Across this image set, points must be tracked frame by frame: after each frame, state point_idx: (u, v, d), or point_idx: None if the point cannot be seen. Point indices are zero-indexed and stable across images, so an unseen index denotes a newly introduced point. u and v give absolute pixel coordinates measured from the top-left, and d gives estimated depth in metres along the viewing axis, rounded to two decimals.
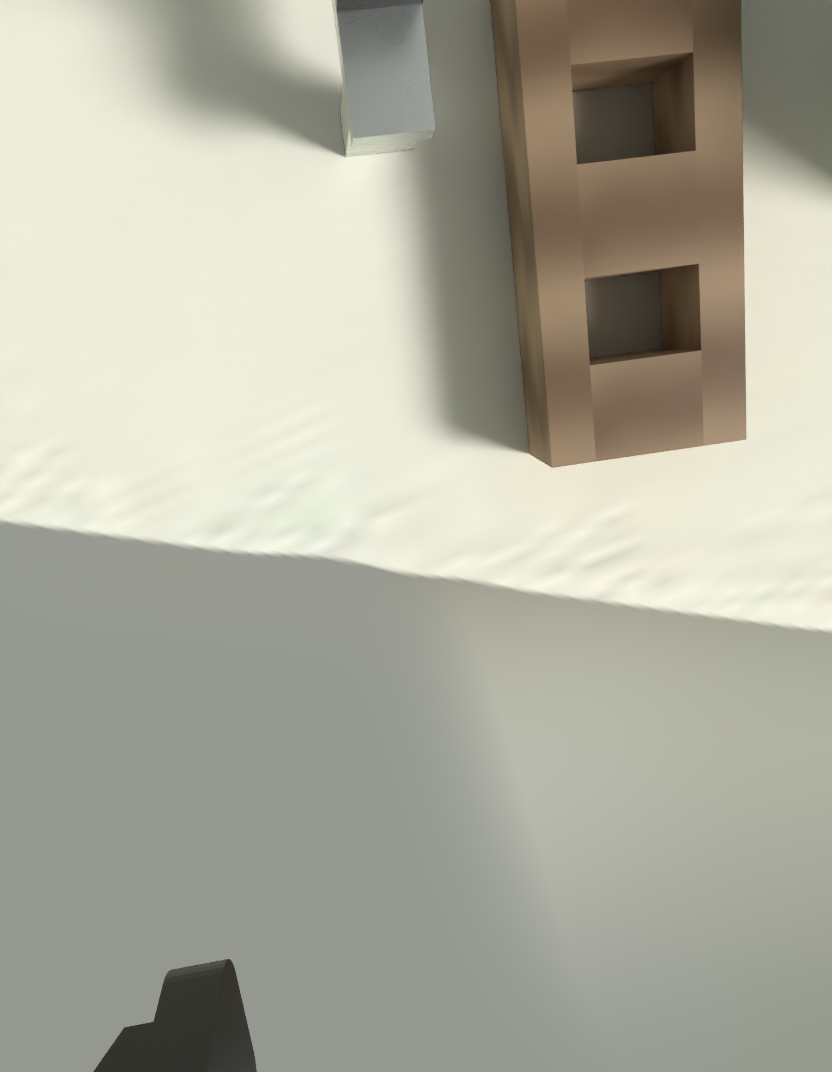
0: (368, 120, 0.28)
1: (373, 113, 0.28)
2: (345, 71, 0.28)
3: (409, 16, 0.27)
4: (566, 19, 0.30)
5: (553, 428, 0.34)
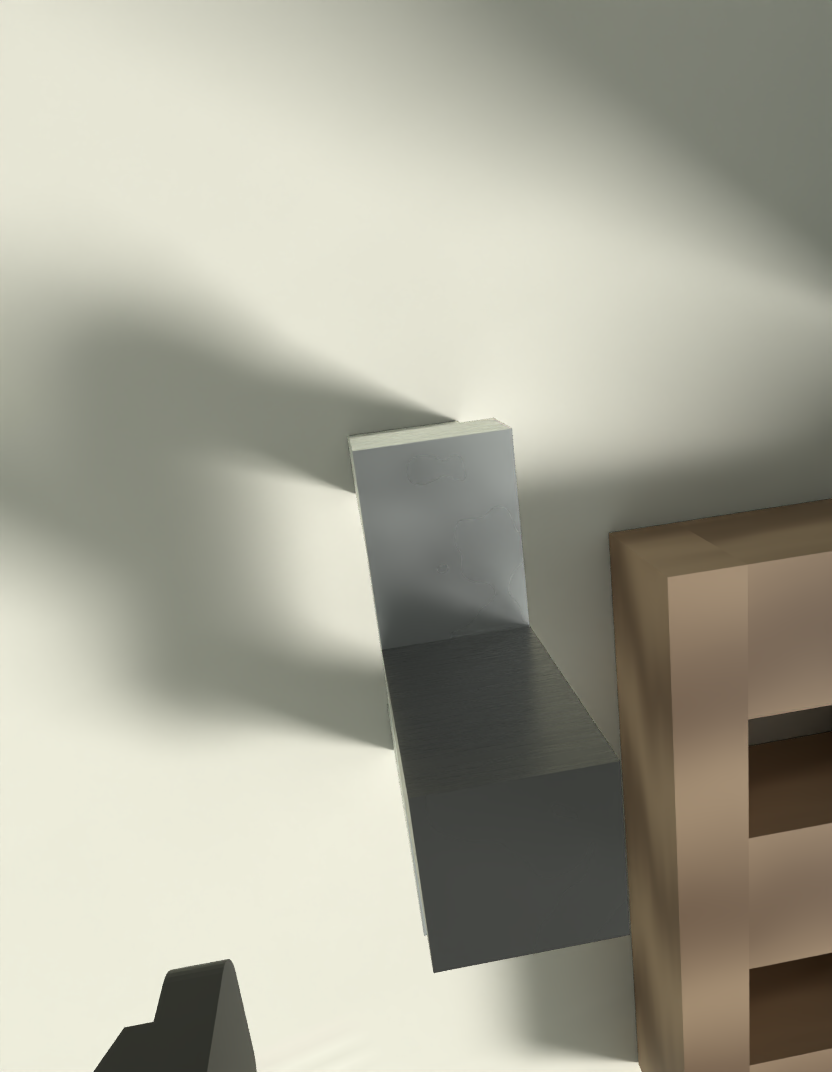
0: None
1: None
2: (413, 853, 0.17)
3: None
4: (746, 664, 0.20)
5: None
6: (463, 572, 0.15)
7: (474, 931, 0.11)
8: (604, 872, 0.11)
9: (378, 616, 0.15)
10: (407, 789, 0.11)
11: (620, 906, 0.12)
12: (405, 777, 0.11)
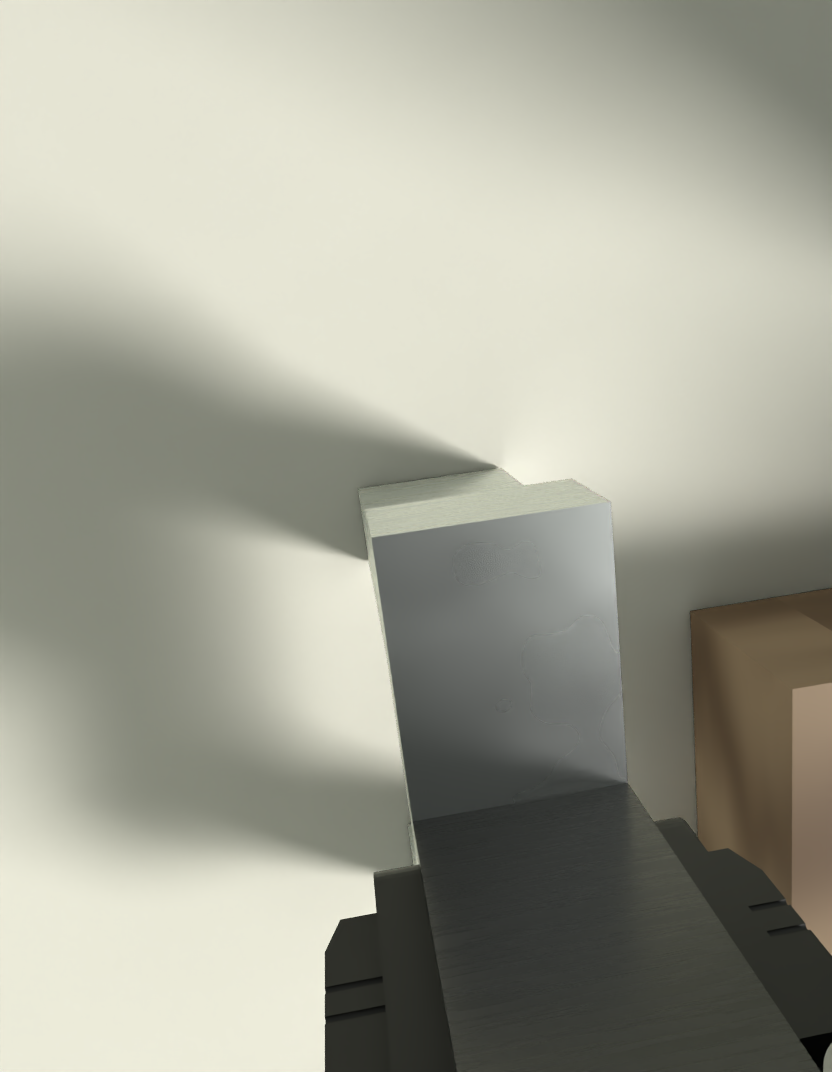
0: None
1: None
2: None
3: None
4: None
5: None
6: (534, 710, 0.10)
7: None
8: None
9: (408, 774, 0.10)
10: None
11: None
12: None
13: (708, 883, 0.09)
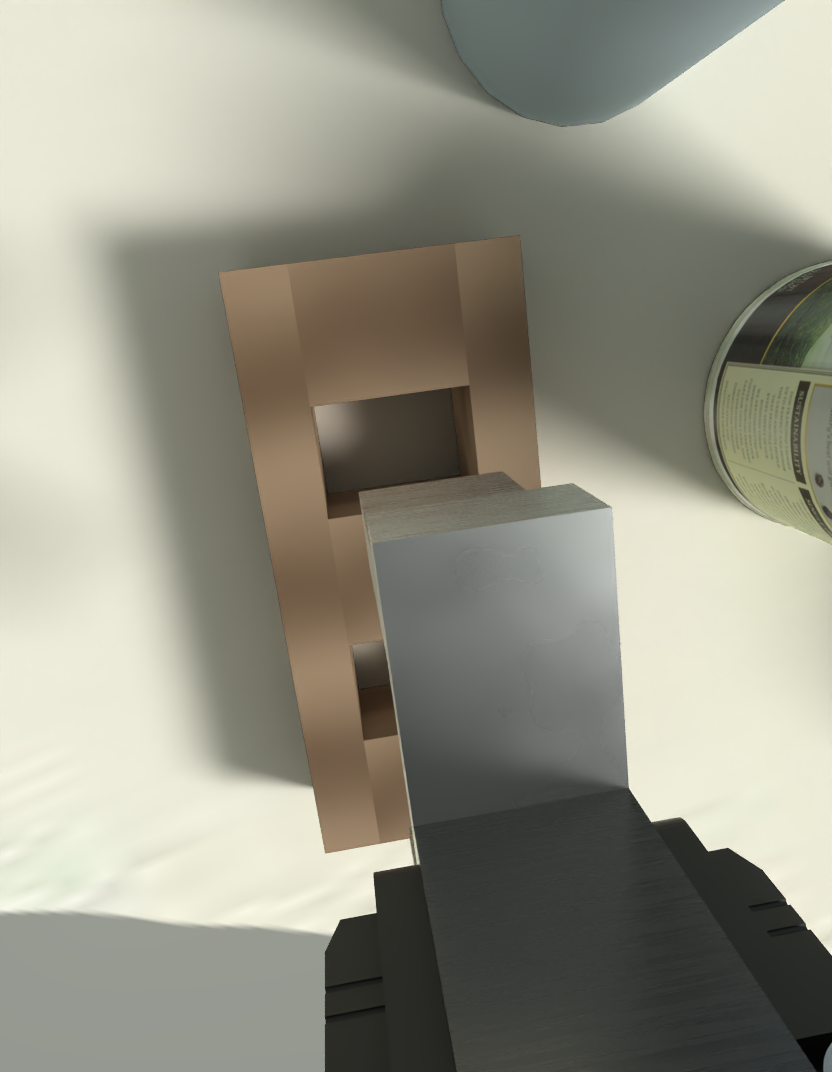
0: None
1: None
2: None
3: None
4: (300, 355, 0.24)
5: (322, 811, 0.28)
6: (534, 715, 0.10)
7: None
8: None
9: (409, 780, 0.10)
10: None
11: None
12: None
13: (708, 883, 0.09)
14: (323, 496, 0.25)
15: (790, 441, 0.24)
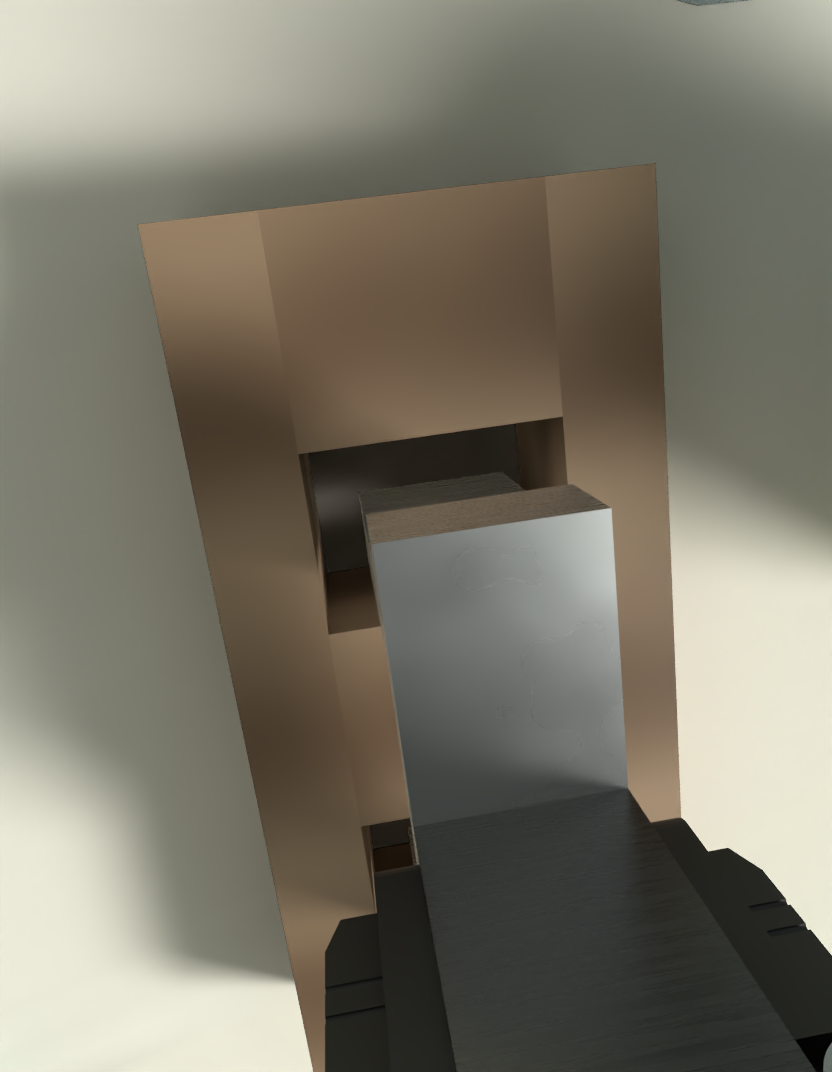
0: None
1: None
2: None
3: None
4: (280, 367, 0.14)
5: (320, 1066, 0.18)
6: (534, 716, 0.10)
7: None
8: None
9: (409, 780, 0.10)
10: None
11: None
12: None
13: (708, 883, 0.09)
14: (321, 598, 0.15)
15: None
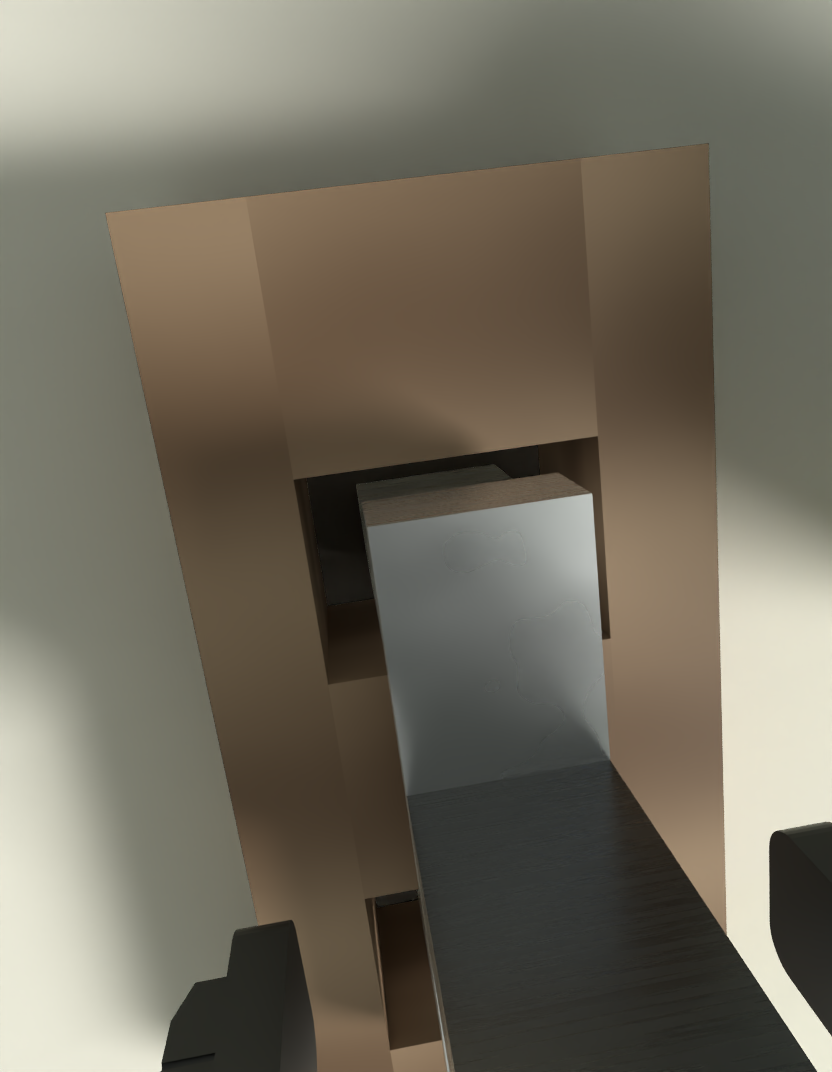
0: None
1: None
2: (448, 1058, 0.12)
3: None
4: (273, 380, 0.12)
5: None
6: (520, 690, 0.11)
7: None
8: None
9: (402, 751, 0.11)
10: None
11: None
12: None
13: None
14: (319, 643, 0.13)
15: None
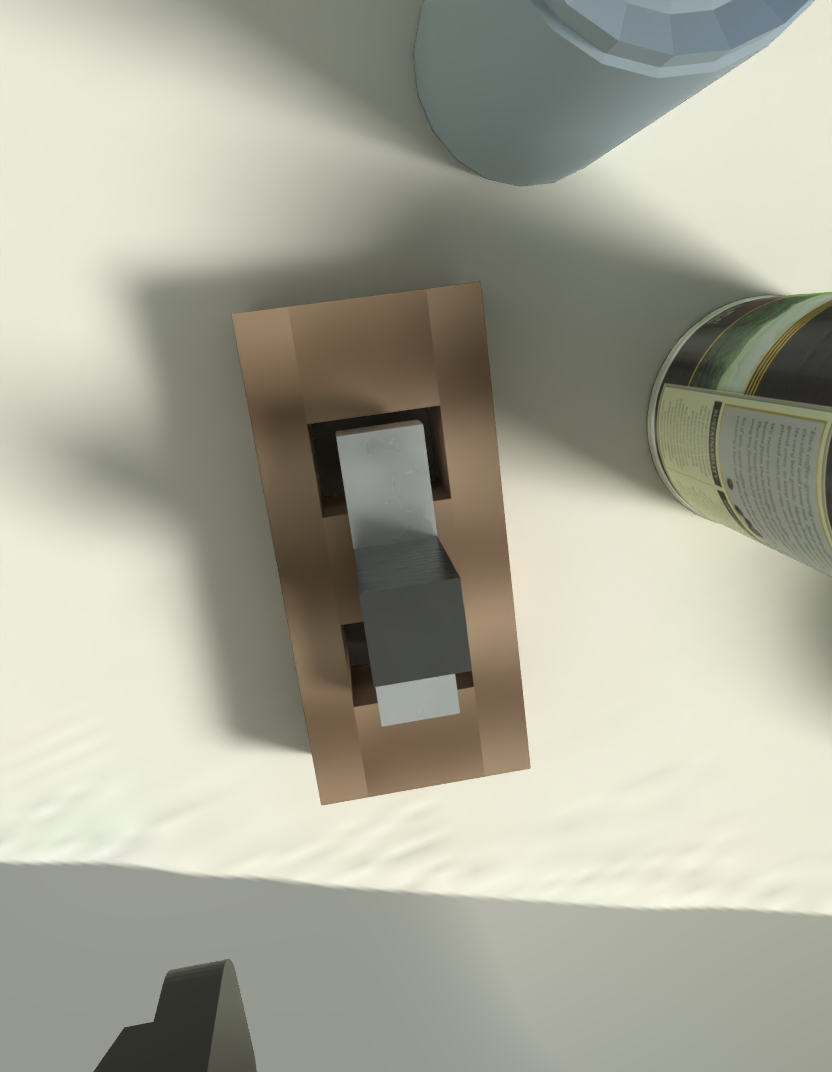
0: (396, 711, 0.29)
1: (400, 705, 0.29)
2: None
3: None
4: (298, 381, 0.28)
5: (318, 768, 0.32)
6: (398, 504, 0.27)
7: (393, 665, 0.23)
8: (456, 636, 0.23)
9: (351, 529, 0.27)
10: (359, 591, 0.23)
11: (465, 654, 0.24)
12: None
13: None
14: (318, 498, 0.30)
15: (708, 451, 0.29)
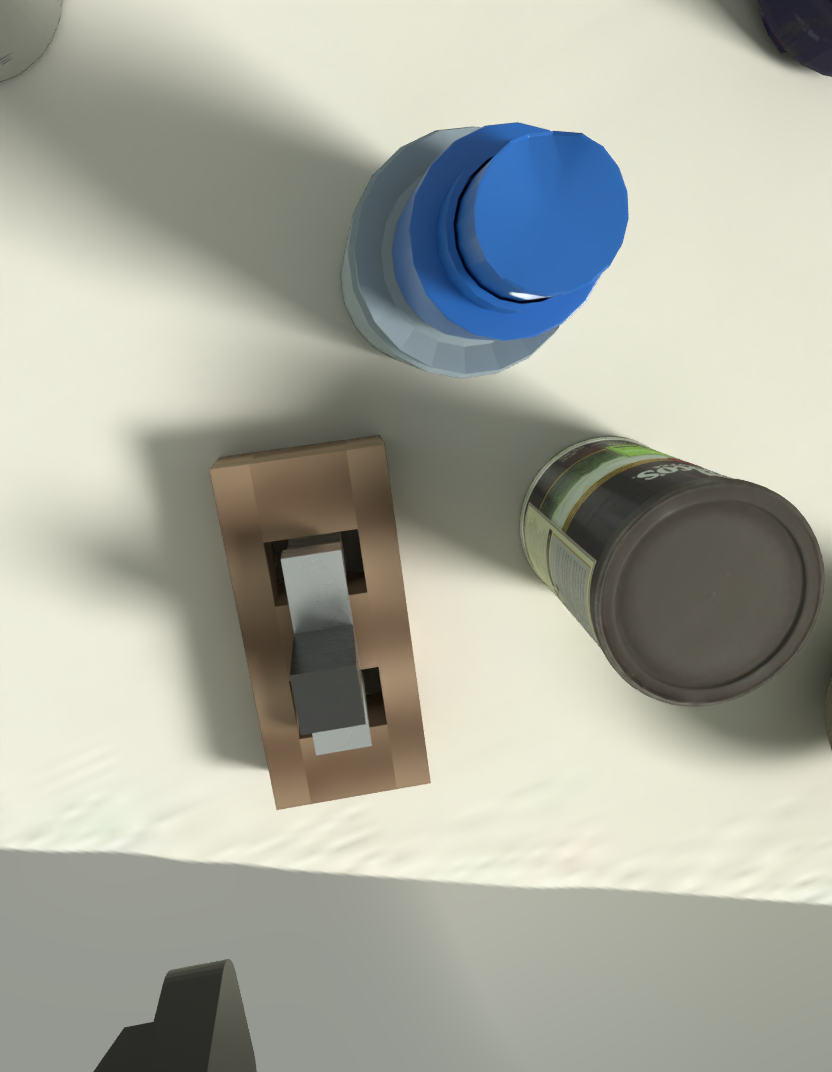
0: (326, 744, 0.41)
1: (329, 740, 0.41)
2: None
3: None
4: (257, 514, 0.41)
5: (274, 783, 0.45)
6: (325, 603, 0.39)
7: (313, 721, 0.36)
8: (354, 701, 0.36)
9: (292, 620, 0.40)
10: (290, 673, 0.35)
11: (361, 713, 0.36)
12: (290, 670, 0.35)
13: None
14: (272, 593, 0.42)
15: (546, 562, 0.41)
